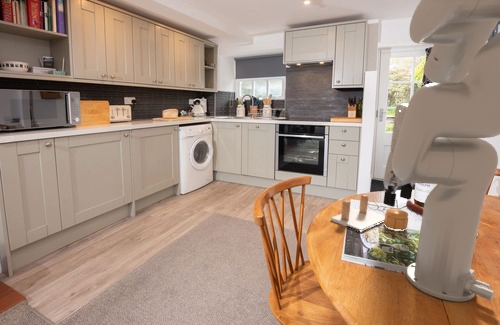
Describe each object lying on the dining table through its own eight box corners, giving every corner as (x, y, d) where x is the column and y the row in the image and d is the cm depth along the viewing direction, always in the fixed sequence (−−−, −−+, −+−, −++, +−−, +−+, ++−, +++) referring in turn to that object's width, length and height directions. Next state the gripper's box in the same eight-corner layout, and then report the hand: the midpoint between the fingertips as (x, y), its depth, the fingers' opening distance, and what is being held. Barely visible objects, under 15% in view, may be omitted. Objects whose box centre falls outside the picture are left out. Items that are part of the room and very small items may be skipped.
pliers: (421, 227, 92) (422, 219, 92) (404, 205, 111) (405, 198, 111) (462, 231, 90) (464, 223, 89) (438, 208, 109) (439, 202, 108)
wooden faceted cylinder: (409, 228, 90) (411, 213, 89) (399, 233, 86) (401, 217, 85) (390, 221, 95) (392, 207, 94) (380, 226, 91) (382, 211, 90)
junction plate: (389, 220, 96) (391, 199, 95) (360, 232, 87) (363, 210, 85) (359, 210, 105) (361, 191, 103) (330, 220, 95) (332, 199, 94)
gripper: (406, 141, 93) (399, 192, 98) (376, 147, 83) (370, 204, 88) (432, 145, 88) (423, 199, 92) (403, 152, 78) (394, 212, 82)
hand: (397, 201), depth 90 cm, fingers open, 9 cm apart
